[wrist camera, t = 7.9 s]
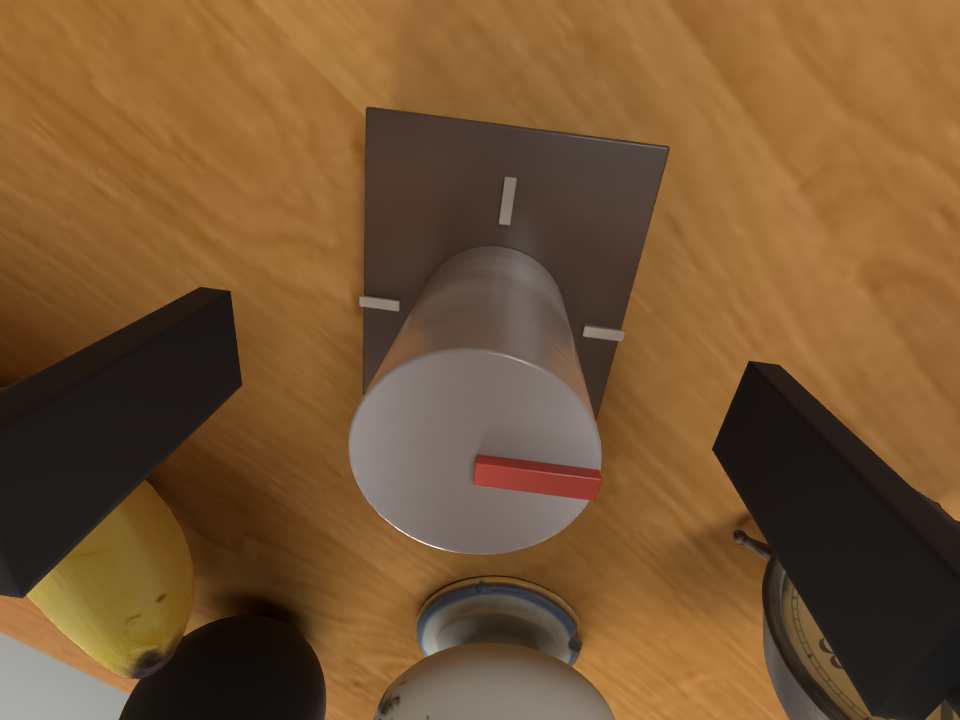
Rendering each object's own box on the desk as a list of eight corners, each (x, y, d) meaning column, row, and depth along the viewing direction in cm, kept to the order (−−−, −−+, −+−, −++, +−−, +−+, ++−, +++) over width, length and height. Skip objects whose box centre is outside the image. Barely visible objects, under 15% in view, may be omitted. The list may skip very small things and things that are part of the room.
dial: (416, 372, 18) (344, 551, 10) (423, 236, 16) (338, 339, 8) (551, 389, 18) (577, 581, 10) (577, 255, 15) (634, 376, 8)
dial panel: (386, 109, 17) (360, 105, 14) (648, 143, 17) (676, 147, 14) (378, 401, 22) (358, 442, 19) (577, 429, 22) (586, 474, 19)
